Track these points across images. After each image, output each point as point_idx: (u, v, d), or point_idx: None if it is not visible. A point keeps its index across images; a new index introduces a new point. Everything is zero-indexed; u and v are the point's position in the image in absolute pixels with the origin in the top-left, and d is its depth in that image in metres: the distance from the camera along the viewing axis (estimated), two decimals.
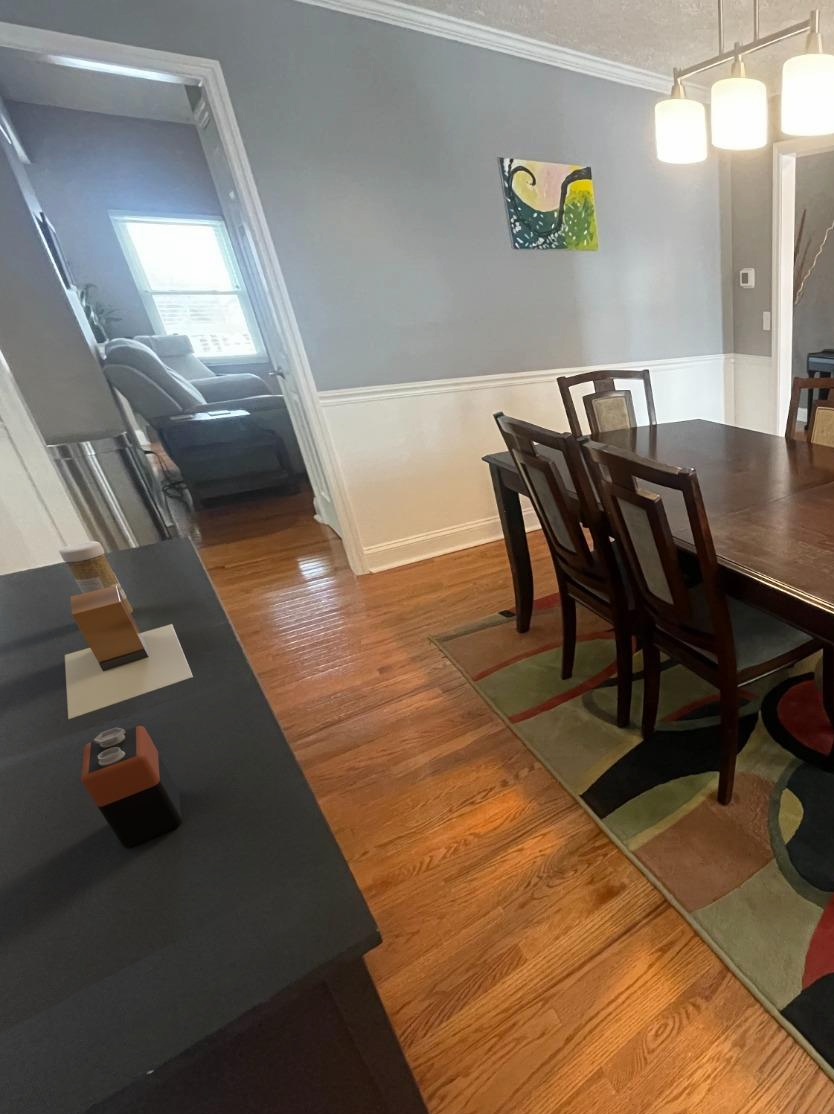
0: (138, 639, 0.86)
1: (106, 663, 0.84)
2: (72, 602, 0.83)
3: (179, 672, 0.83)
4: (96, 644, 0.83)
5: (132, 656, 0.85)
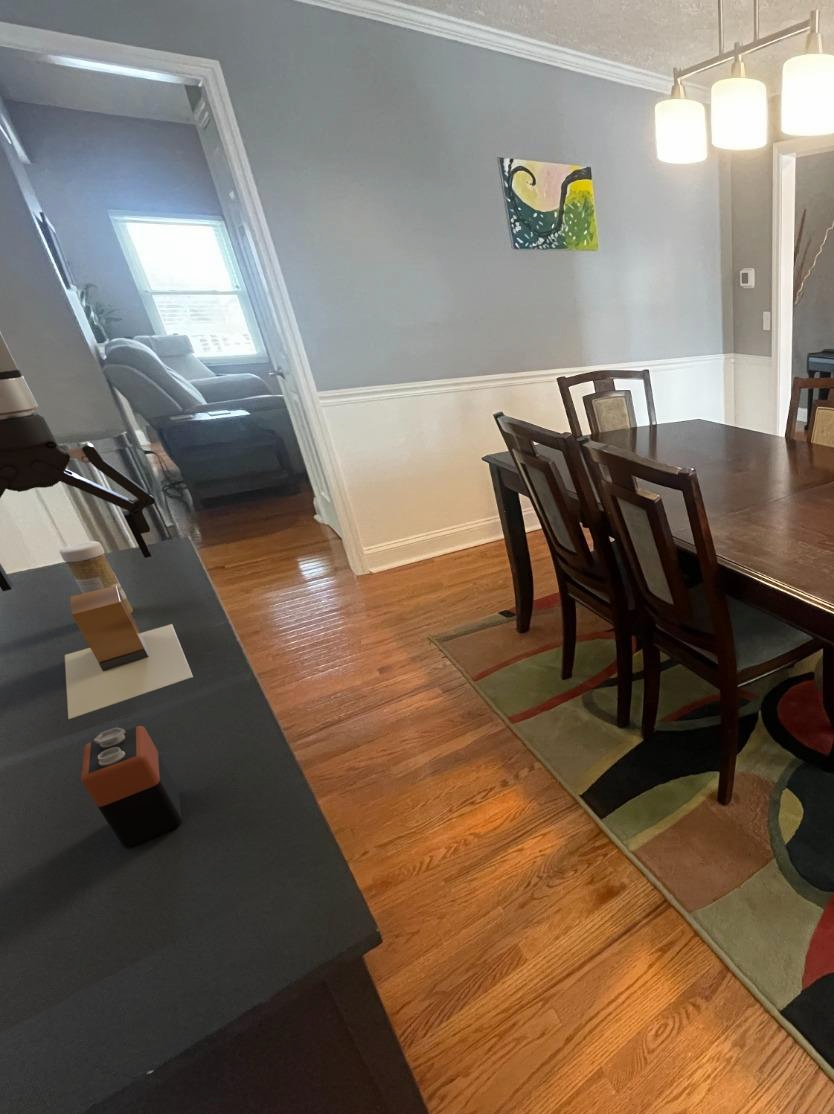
0: (138, 639, 0.86)
1: (106, 663, 0.84)
2: (72, 602, 0.83)
3: (179, 672, 0.83)
4: (96, 644, 0.83)
5: (132, 656, 0.85)
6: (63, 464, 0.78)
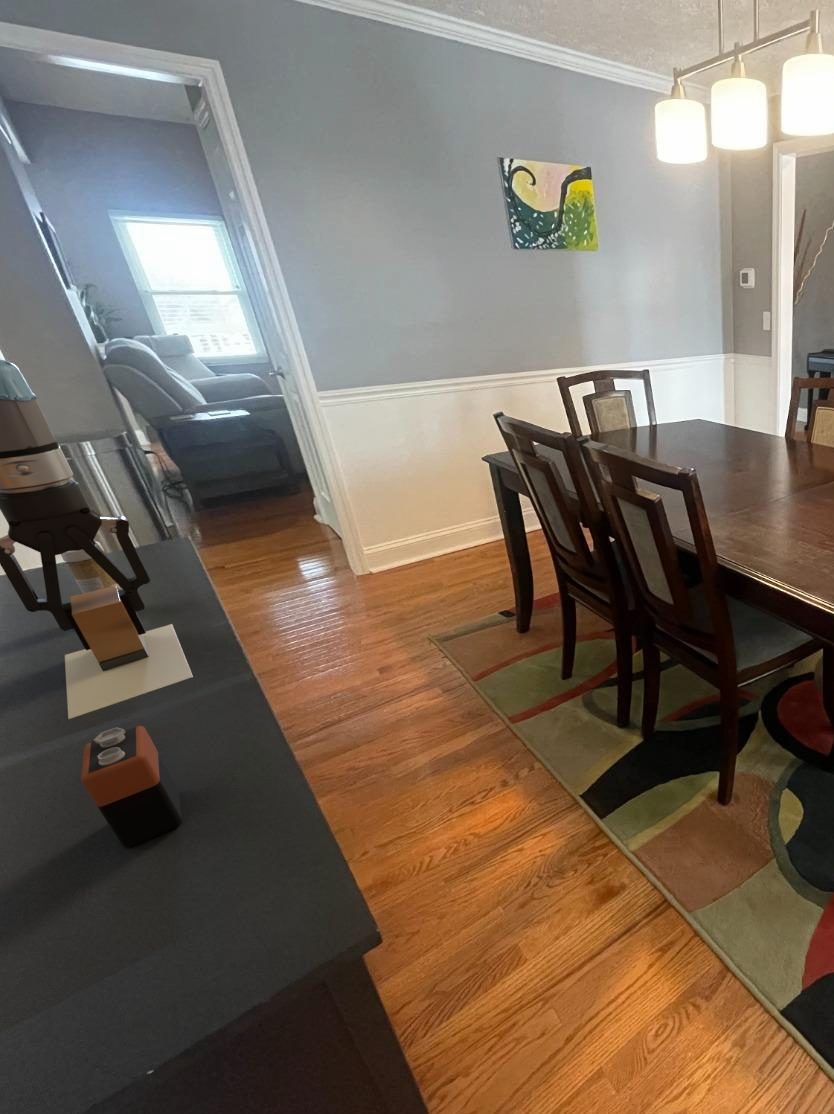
0: (138, 639, 0.86)
1: (106, 663, 0.84)
2: (72, 602, 0.83)
3: (179, 672, 0.83)
4: (96, 644, 0.83)
5: (132, 656, 0.85)
6: (95, 528, 0.82)
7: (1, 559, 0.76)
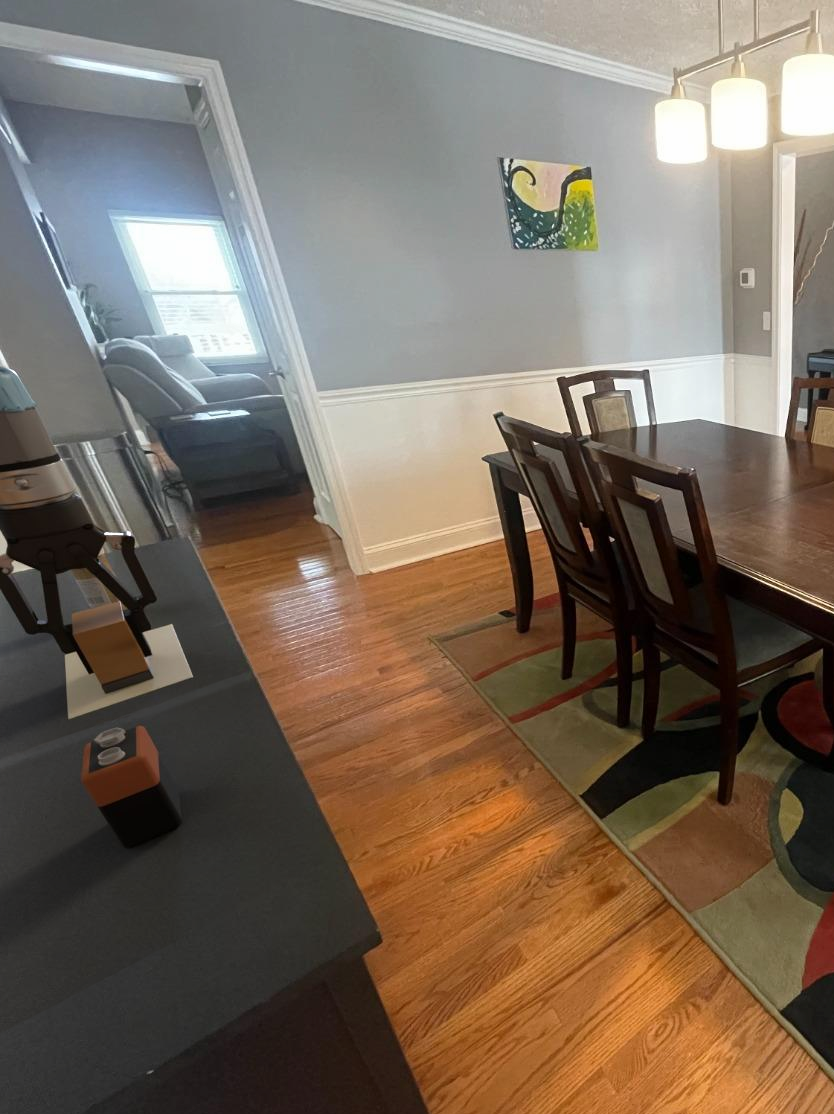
0: (143, 659, 0.81)
1: (108, 686, 0.79)
2: (73, 620, 0.78)
3: (179, 672, 0.83)
4: (98, 666, 0.78)
5: (136, 677, 0.81)
6: (99, 545, 0.77)
7: None
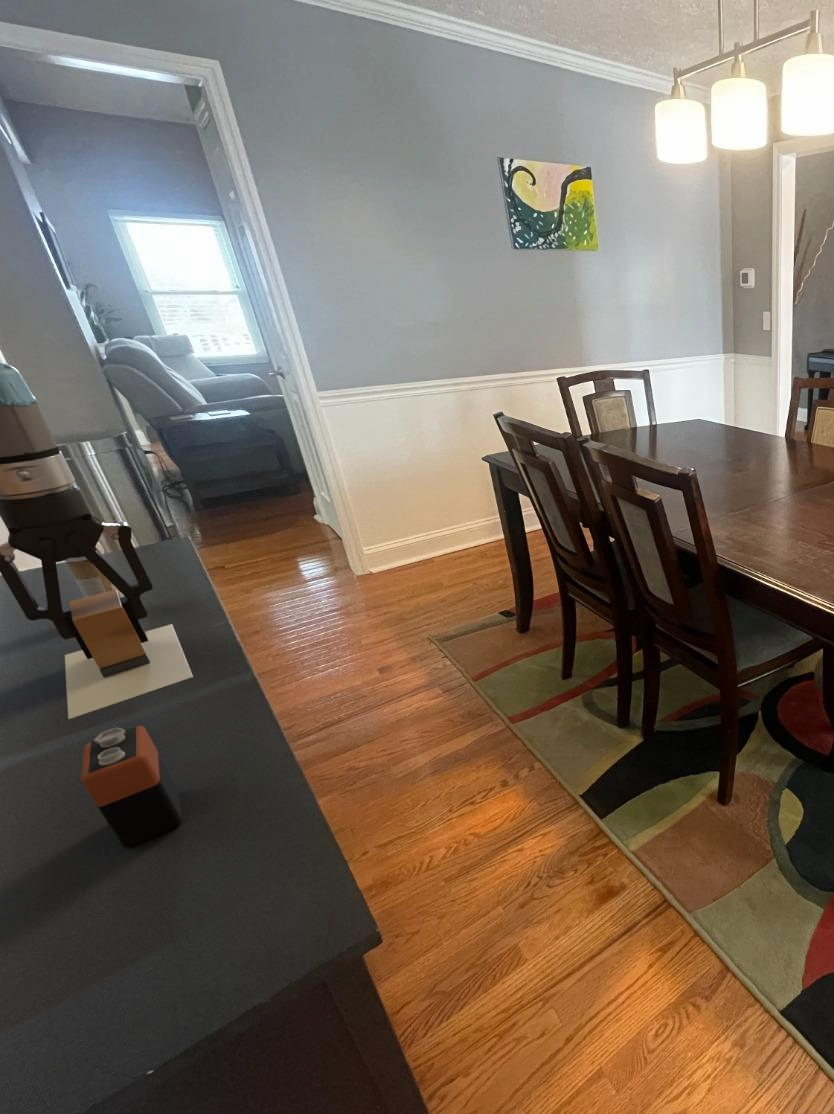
0: (140, 645, 0.84)
1: (107, 670, 0.82)
2: (72, 607, 0.82)
3: (179, 672, 0.83)
4: (97, 650, 0.81)
5: (133, 662, 0.84)
6: (97, 534, 0.80)
7: (1, 567, 0.75)
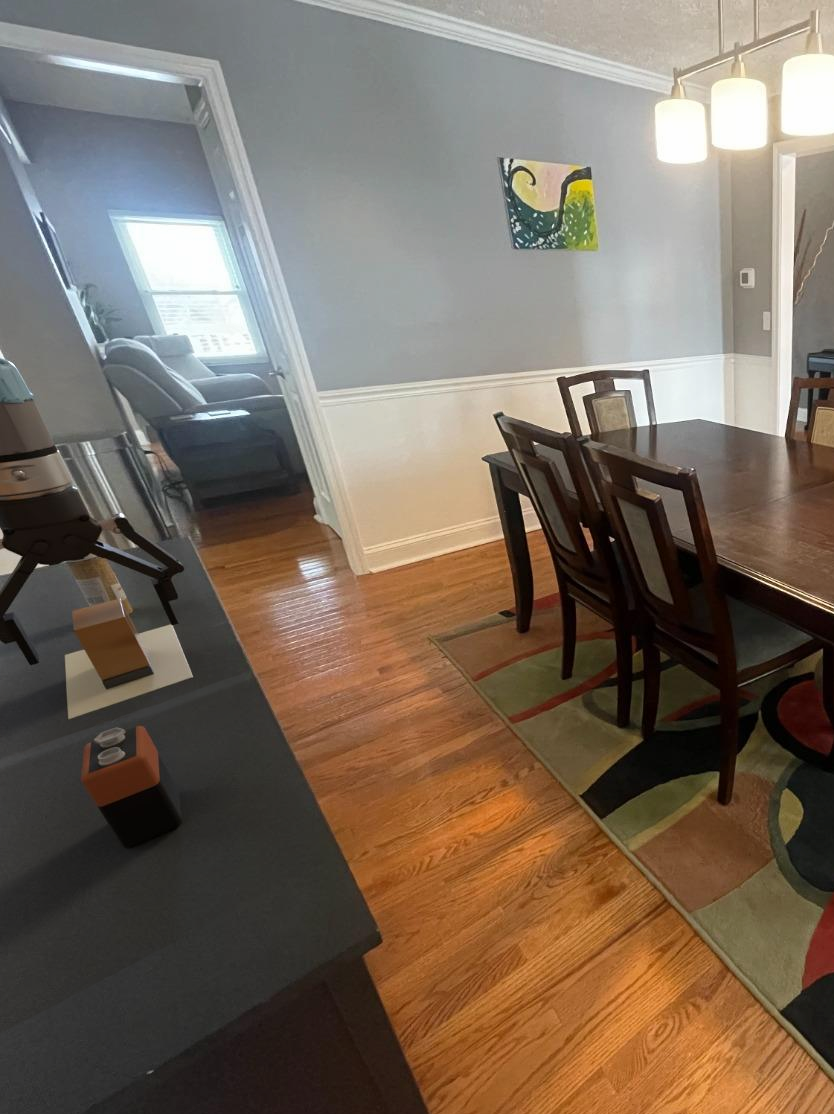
0: (143, 655, 0.82)
1: (109, 681, 0.80)
2: (74, 617, 0.79)
3: (179, 672, 0.83)
4: (99, 661, 0.79)
5: (137, 673, 0.81)
6: (95, 536, 0.77)
7: None
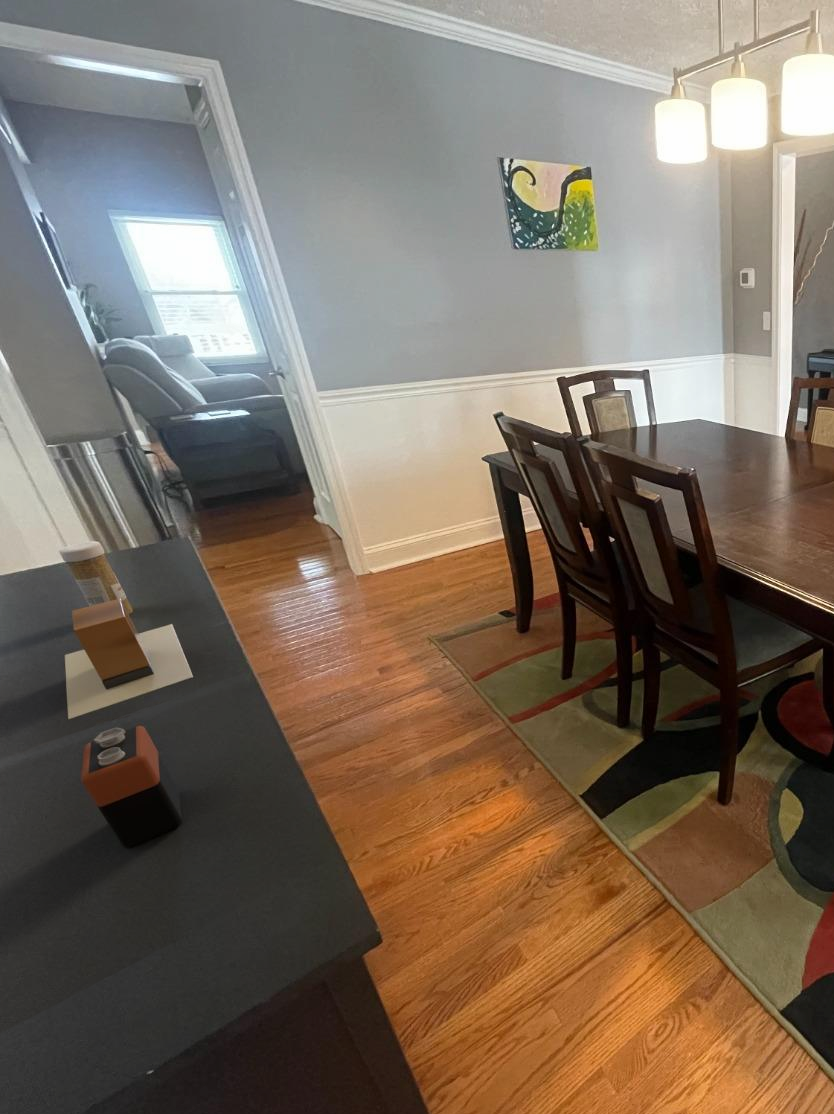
0: (143, 655, 0.82)
1: (109, 681, 0.80)
2: (74, 617, 0.79)
3: (179, 672, 0.83)
4: (99, 661, 0.79)
5: (137, 673, 0.81)
6: None
7: None
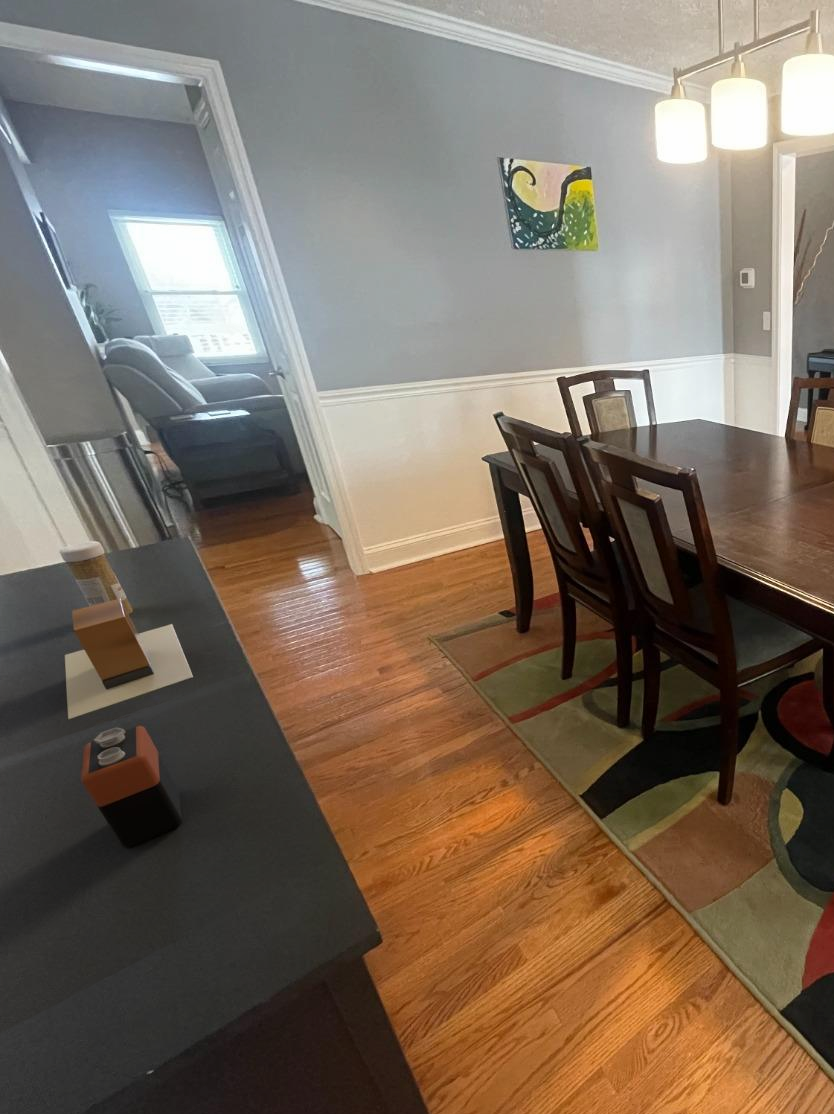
0: (143, 655, 0.82)
1: (109, 681, 0.80)
2: (74, 617, 0.79)
3: (179, 672, 0.83)
4: (99, 661, 0.79)
5: (137, 673, 0.81)
6: None
7: None
